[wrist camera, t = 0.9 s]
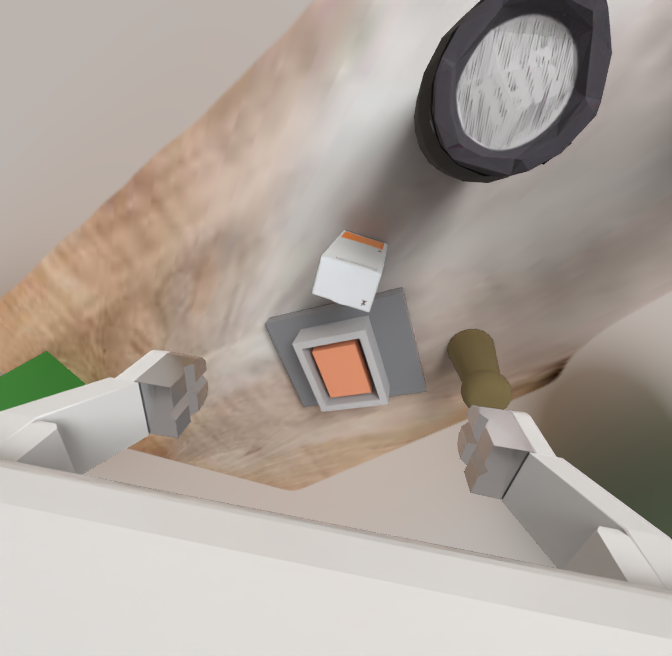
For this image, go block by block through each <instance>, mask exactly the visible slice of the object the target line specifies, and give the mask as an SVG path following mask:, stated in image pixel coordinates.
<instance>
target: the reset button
mask: <svg viewBox="0 0 672 656" xmlns="http://www.w3.org/2000/svg"><path fill="white" fill-rule="evenodd" d="M312 353H313V355H314V358H315V360H316V363H317V365H318V368H319V370H320V372H321V375H322V377H323V380H324V382H325V385H326V387H327V389H328V392H329V394H330V397H331V398H332V397H340V396H348V395H355V394H363V393H371V389H372V381H371V378H370V375H369V372H368V369H367V366H366V363H365V360H364V357H363V354H362V351H361V348H360V345H359V342H358V339H353V340H348V341H342V342H337V343H332V344H326V345H321V346H315V347H314V349H313V351H312Z"/></svg>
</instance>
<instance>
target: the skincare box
mask: <svg viewBox="0 0 672 656" xmlns="http://www.w3.org/2000/svg"><path fill="white" fill-rule="evenodd" d="M387 248H388V244H387V243H383V242H380V241H377V240H373V239H370V238H367V237H364V236H361V235H358V234H355V233H352V232H349V231H346V230H343V231H342V232H341V234H340V235H339V236H338V237H337V238H336V239H335V241H334V242H333V243H332V244H331V245H330V246H329V247H328V249H327V250H326V251H325V252H324V253H323V254H322V255H321V258H320V262H319V266H318V269H317V273H316V277H315V281H314V285H313V289H312V294H313V295H316V296H319V297H322V298H325V299H329V300H331V301H334V302H336V303H339V304H341V305H346V306H349V307H353V308H356V309H359V310H362V311H365V312H370V309H371V306H372V303H373V300H374V297H375V294H376V291H377V288H378V285H379V282H380V279H381V276H382V272H383V267H384V262H385V258H386V253H387Z"/></svg>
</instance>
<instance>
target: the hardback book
mask: <svg viewBox="0 0 672 656" xmlns="http://www.w3.org/2000/svg"><path fill="white" fill-rule="evenodd" d="M84 385H86V384H85V383H84V382H83V381H81V380H80V379H79V378H78V377H77V376H75V375H74V374H73V373H72V372H71V371H70V370H68V369H67V368H66V367H65V366H64V365H63V364H61V363H60V362H59V361H58V360H57V359H56V358H54V357H53V356H52V355H51V354H50V353H48V352H47V351H46V352H44V353H42V354H40V355H39V356H37V357H35V358H33V359H31V360H30V361H28V362H26V363H24V364H22V365H21V366H19V367H17V368H15V369H13V370H11V371H10V372H8V373H6V374H4V375H2V376H1V377H0V411H3V410H7V409H10V408H13V407H16V406H19V405H23V404H26V403H29V402H32V401H36V400H39V399H42V398H45V397H48V396H52V395H55V394H58V393H61V392H65V391H68V390H71V389H74V388H77V387H81V386H84Z"/></svg>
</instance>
